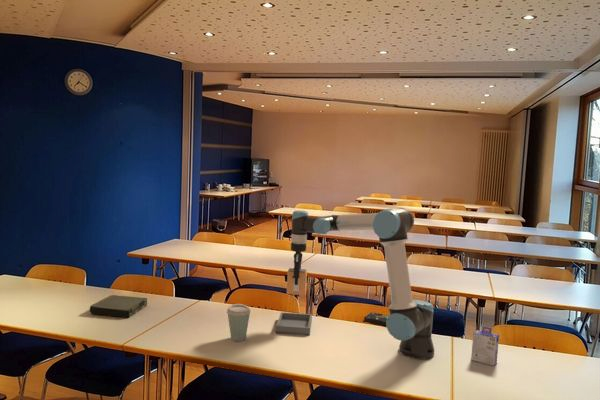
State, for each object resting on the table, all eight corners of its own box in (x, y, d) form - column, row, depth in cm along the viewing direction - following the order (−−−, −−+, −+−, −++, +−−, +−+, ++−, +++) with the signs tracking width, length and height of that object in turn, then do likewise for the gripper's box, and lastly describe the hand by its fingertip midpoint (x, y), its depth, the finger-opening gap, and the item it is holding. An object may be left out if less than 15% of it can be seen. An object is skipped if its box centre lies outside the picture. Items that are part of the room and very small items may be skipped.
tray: (309, 335, 228) (309, 328, 227) (275, 332, 229) (276, 325, 229) (311, 321, 248) (312, 314, 247) (280, 318, 249) (281, 312, 248)
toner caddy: (305, 295, 233) (306, 272, 232) (286, 293, 234) (287, 270, 233) (305, 291, 239) (307, 269, 238) (287, 290, 240) (288, 267, 239)
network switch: (133, 319, 239) (133, 309, 239) (86, 317, 239) (86, 307, 239) (148, 305, 262) (149, 296, 262) (105, 302, 262) (106, 293, 262)
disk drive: (363, 322, 251) (391, 328, 244) (364, 317, 251) (391, 322, 244) (371, 316, 260) (397, 322, 253) (371, 311, 260) (398, 317, 253)
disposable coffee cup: (254, 339, 219) (255, 307, 218) (236, 345, 212) (237, 312, 210) (239, 333, 227) (240, 301, 225) (221, 338, 219) (222, 306, 217)
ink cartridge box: (497, 361, 207) (500, 329, 206) (494, 366, 203) (497, 333, 201) (473, 356, 212) (476, 324, 211) (470, 360, 208) (473, 327, 206)
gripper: (292, 238, 244) (290, 283, 246) (289, 245, 225) (286, 294, 227) (307, 239, 244) (305, 284, 246) (305, 246, 225) (302, 295, 227)
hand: (296, 288), depth 237 cm, fingers closed on toner caddy, 6 cm apart
